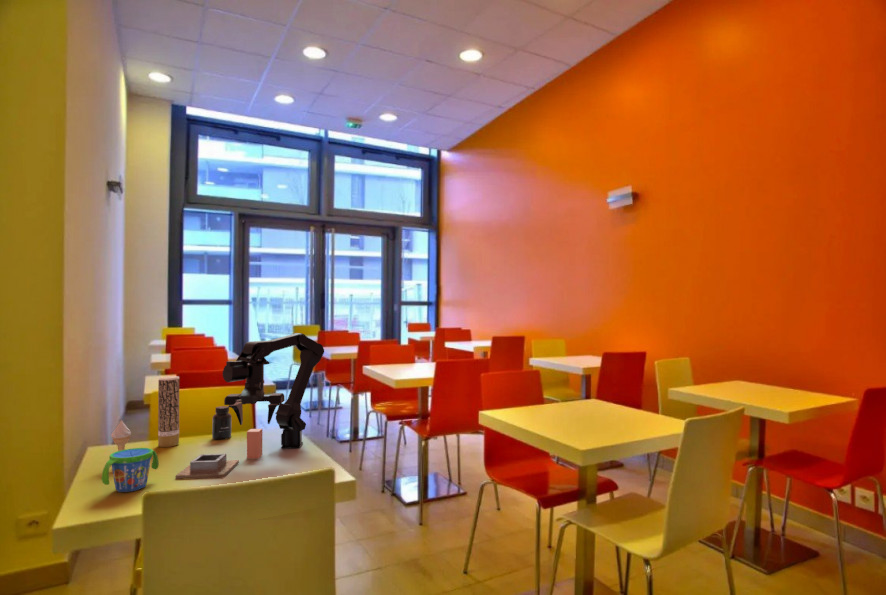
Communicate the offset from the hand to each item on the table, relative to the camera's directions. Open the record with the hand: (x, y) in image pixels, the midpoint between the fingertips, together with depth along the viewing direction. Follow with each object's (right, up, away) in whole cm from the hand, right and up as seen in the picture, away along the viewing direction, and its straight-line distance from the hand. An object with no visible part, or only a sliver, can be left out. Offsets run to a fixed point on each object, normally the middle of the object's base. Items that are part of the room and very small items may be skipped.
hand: (255, 424), depth 174 cm
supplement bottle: (-22, -12, +24) cm, 35 cm away
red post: (0, -11, 0) cm, 11 cm away
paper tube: (-37, -12, +14) cm, 41 cm away
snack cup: (-24, -11, -30) cm, 40 cm away
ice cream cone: (-39, -11, -10) cm, 42 cm away
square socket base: (-9, -11, -15) cm, 21 cm away
